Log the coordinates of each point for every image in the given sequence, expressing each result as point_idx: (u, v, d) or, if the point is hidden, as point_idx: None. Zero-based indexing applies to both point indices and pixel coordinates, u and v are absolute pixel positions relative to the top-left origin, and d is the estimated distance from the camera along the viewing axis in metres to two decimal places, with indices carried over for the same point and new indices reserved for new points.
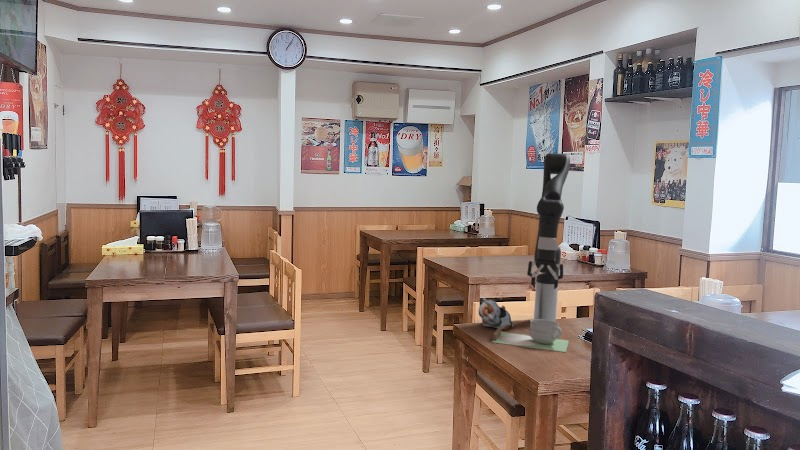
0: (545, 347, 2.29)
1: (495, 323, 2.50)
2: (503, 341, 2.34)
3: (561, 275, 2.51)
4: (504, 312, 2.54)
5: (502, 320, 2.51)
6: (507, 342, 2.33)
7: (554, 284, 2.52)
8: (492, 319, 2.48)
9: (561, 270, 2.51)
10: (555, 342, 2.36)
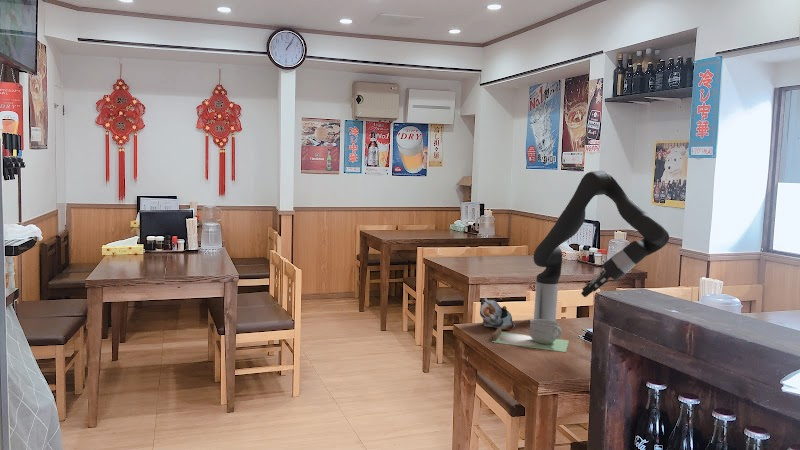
0: (545, 347, 2.29)
1: (497, 323, 2.49)
2: (503, 341, 2.34)
3: None
4: (505, 312, 2.54)
5: (504, 320, 2.51)
6: (507, 342, 2.33)
7: None
8: (494, 320, 2.48)
9: None
10: (555, 342, 2.36)
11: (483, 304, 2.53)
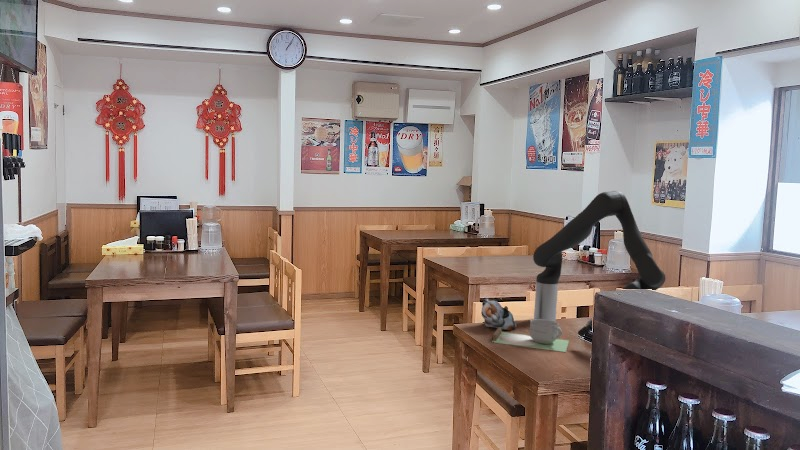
0: (545, 347, 2.29)
1: (498, 324, 2.49)
2: (503, 341, 2.34)
3: None
4: (507, 312, 2.54)
5: (505, 320, 2.51)
6: (507, 342, 2.33)
7: (585, 333, 2.30)
8: (496, 320, 2.47)
9: None
10: (555, 342, 2.36)
11: (485, 304, 2.53)
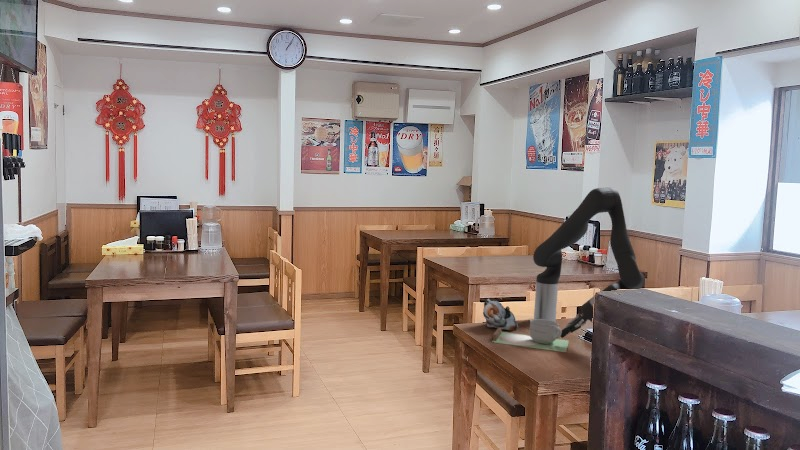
0: (545, 347, 2.29)
1: (500, 324, 2.49)
2: (503, 341, 2.34)
3: None
4: (508, 312, 2.53)
5: (507, 320, 2.51)
6: (507, 342, 2.33)
7: (566, 334, 2.32)
8: (498, 320, 2.47)
9: None
10: (555, 342, 2.36)
11: (486, 305, 2.52)
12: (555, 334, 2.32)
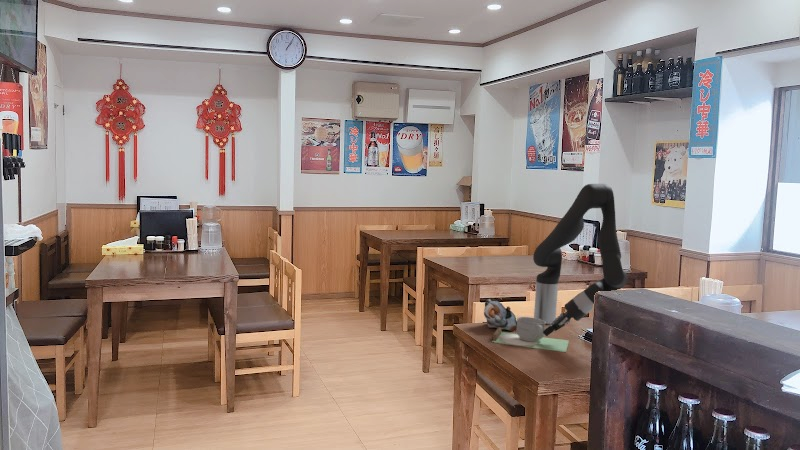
0: (545, 347, 2.29)
1: (501, 324, 2.48)
2: (503, 341, 2.34)
3: None
4: (509, 313, 2.53)
5: (508, 321, 2.50)
6: (507, 342, 2.33)
7: (550, 333, 2.34)
8: (499, 320, 2.47)
9: None
10: (555, 342, 2.36)
11: (487, 305, 2.52)
12: None
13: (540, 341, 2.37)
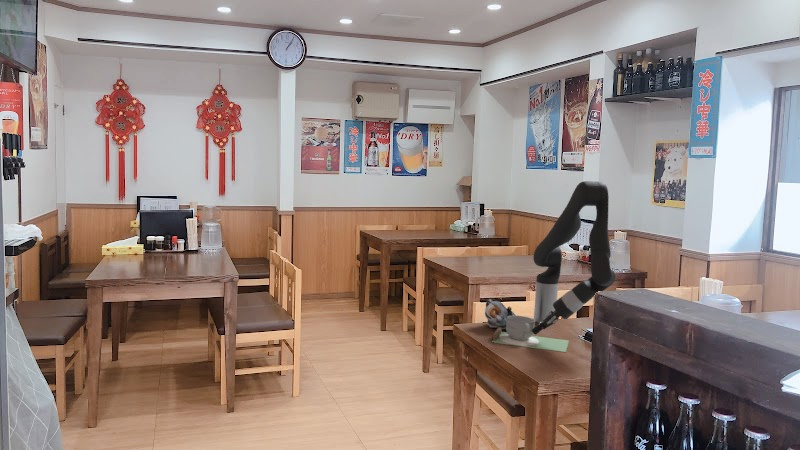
0: (545, 347, 2.29)
1: (503, 324, 2.48)
2: (503, 341, 2.34)
3: None
4: (510, 313, 2.53)
5: None
6: (507, 342, 2.33)
7: (539, 331, 2.35)
8: (500, 321, 2.47)
9: None
10: (555, 342, 2.36)
11: (488, 305, 2.52)
12: None
13: (540, 341, 2.37)
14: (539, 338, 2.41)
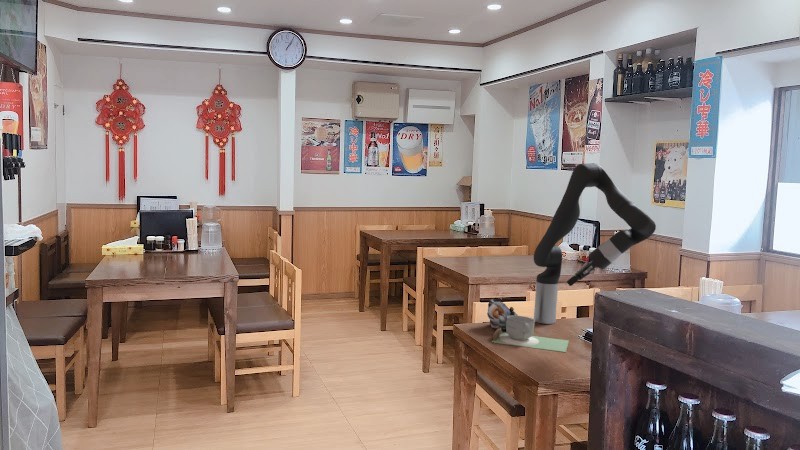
0: (545, 347, 2.29)
1: (505, 325, 2.48)
2: (503, 341, 2.34)
3: None
4: (513, 313, 2.53)
5: None
6: (507, 342, 2.33)
7: None
8: (503, 321, 2.46)
9: None
10: (555, 342, 2.36)
11: (491, 305, 2.51)
12: None
13: (540, 341, 2.37)
14: (539, 338, 2.41)
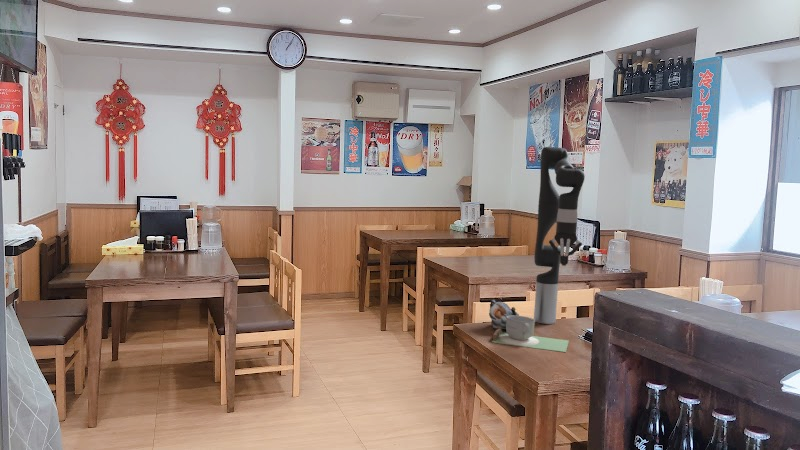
0: (545, 347, 2.29)
1: None
2: (503, 341, 2.34)
3: (571, 251, 2.37)
4: (514, 313, 2.53)
5: None
6: (507, 342, 2.33)
7: (564, 261, 2.39)
8: (505, 321, 2.46)
9: (576, 248, 2.37)
10: (555, 342, 2.36)
11: (493, 306, 2.51)
12: None
13: (540, 341, 2.37)
14: (539, 338, 2.41)
